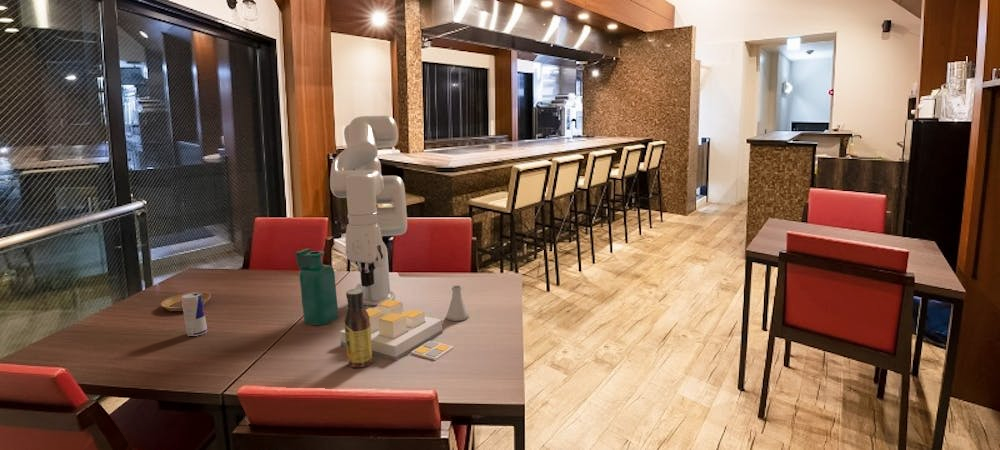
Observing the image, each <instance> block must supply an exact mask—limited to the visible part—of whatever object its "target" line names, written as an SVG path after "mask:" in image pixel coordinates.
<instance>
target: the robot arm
mask: <svg viewBox="0 0 1000 450" xmlns="http://www.w3.org/2000/svg"><path fill="white" fill-rule="evenodd" d="M343 136H344V141H345V145H346V148H345V149H344V150H342V151H341V152H339V154H338V155H336V157H335V158H334V159H333V161H332V162H331V168H330V177H329V186H330V191H331V193H332V194H333V196H334V197H336V198H341V199H343V198H344V199H345V198H346V204H347V216H346V217H347V218H348V224H347V225H346V230H345V255H346V259H348V260H349V261H350V262H351V263H352V264H355V265H356V266H357V268H358V272H359V276H360V283H357V286H355V287H354V289H362V290H363V304H364V306H365V305H366V306H377V305H378V304H380V303H382V302H384V301H386V300H388V299H391V300H395V298H396V293H395V292H393V291H391V287H390V286H391V285H390V269H389V257H388V256H389V253H388V248H387V245H386V244H385V242H384V241H383V237H392V236H401V235H404V234H405V233H406V232H407V230H408V213H407V201H406V200H407V199H406V188H405V183H404V181H403V179H402V178H401V177H400V176H398V175H383V174H382V164H381V161H380V159H379V158H378V152H379V151H378V149H380V148H381V149H385V148H388V149H389V148H394V147H396V146H397V144H398V142H399V131H398V125H397V122H396V120H395V119H394V118H393V117H392V116H390V115H361V116H357V117H354V118H353V119H352V120H351V122H350V123H349V124H348V125H346V126H345V127H344V130H343ZM378 205H391V206H388V207H377V206H378Z"/></svg>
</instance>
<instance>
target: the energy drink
mask: <svg viewBox="0 0 1000 450" xmlns="http://www.w3.org/2000/svg"><path fill="white" fill-rule="evenodd" d="M198 292H199V291H195V292H194V293H193V292H187V293H188V294H185V293H184V294H185V295H183V296H182V299H181V300H182V307H183V313H182V314H183V318H184V326H185V332H186V333H185V334H186V335H188V336H187V337H189V336H197V337H199V336H198V335H201V334H204V333H205V334H207V332H208V327H207V320H206V314H205V313H206V312H205V307H204V306H205V305H203V298H202V295H201V293H198ZM205 334H204V335H205ZM201 336H202V335H201Z"/></svg>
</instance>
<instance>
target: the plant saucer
mask: <svg viewBox="0 0 1000 450" xmlns="http://www.w3.org/2000/svg"><path fill="white" fill-rule="evenodd" d="M197 292H198V293H201V295H202V298H203V300H204V301H203V305H204V306H206V304H207V303H208V302H209V300H210V298H211V297H212V295H211V293H210V292H203V291H197ZM188 293H189V292H186V293H181V294H177V295H174V296H170V297H167V298H166V299H164V300H163V301H162V302H161V303H160V306H161V307H163V308H164V309H165V310H167V311H169V312H172V311H183V307H169V306H170V305H172V304H174V303H177V302H180V301H182V300H181V299H182V296H183V295H185V294H188ZM192 293H194V292H193V291H192Z"/></svg>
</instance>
